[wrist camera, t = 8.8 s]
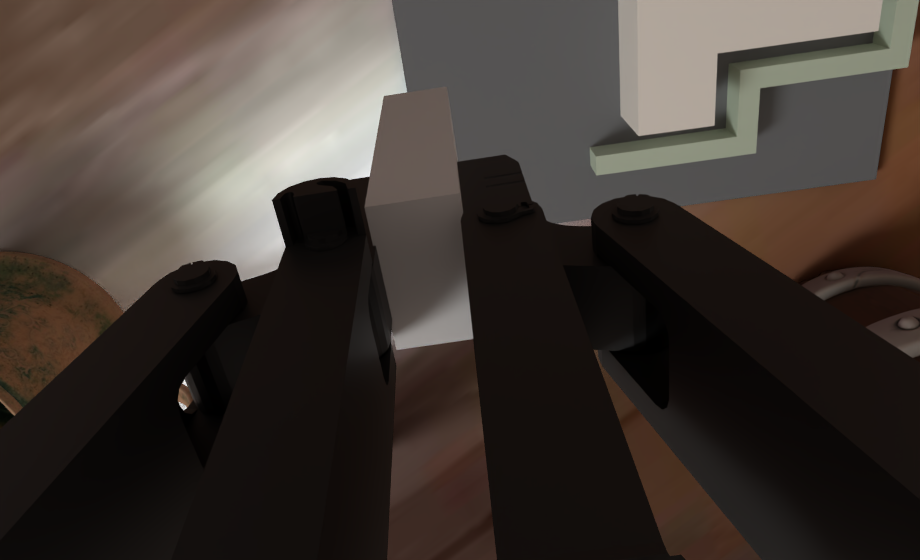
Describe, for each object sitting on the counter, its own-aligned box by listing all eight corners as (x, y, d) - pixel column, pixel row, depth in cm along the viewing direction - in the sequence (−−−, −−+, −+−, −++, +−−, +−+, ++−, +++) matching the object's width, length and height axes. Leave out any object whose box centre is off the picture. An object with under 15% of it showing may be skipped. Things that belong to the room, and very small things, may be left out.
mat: (355, -223, 29) (354, -225, 29) (942, -316, 29) (952, -319, 28) (432, 235, 39) (432, 240, 39) (869, 175, 39) (875, 179, 38)
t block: (615, -109, 31) (636, -109, 28) (856, -144, 31) (904, -149, 28) (620, 115, 36) (638, 136, 33) (829, 86, 36) (867, 104, 32)
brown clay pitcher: (253, 411, 45) (198, 570, 34) (-33, 421, 44) (-179, 586, 33) (221, 244, 39) (143, 372, 28) (-106, 254, 39) (-307, 388, 28)
